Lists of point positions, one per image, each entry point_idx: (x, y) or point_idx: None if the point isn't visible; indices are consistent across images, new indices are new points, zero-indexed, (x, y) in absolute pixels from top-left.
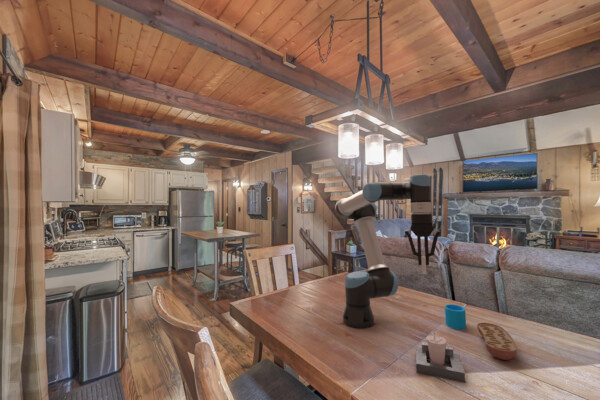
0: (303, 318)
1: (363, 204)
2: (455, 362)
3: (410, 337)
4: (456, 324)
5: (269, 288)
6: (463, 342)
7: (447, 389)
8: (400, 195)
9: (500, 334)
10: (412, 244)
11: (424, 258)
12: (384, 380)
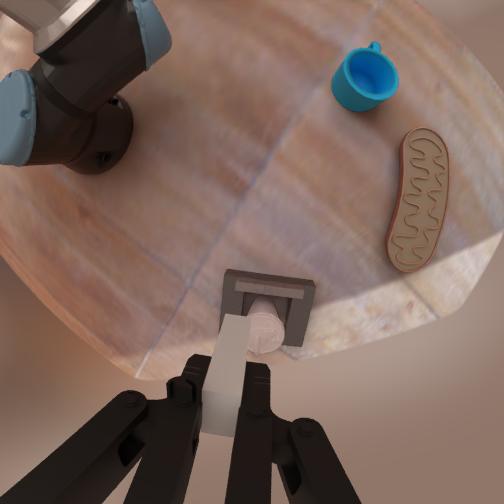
0: (8, 168)
1: None
2: (296, 318)
3: (221, 184)
4: (357, 108)
5: None
6: (350, 183)
7: (265, 357)
8: None
9: (434, 190)
10: (94, 497)
11: (227, 429)
12: (170, 353)
